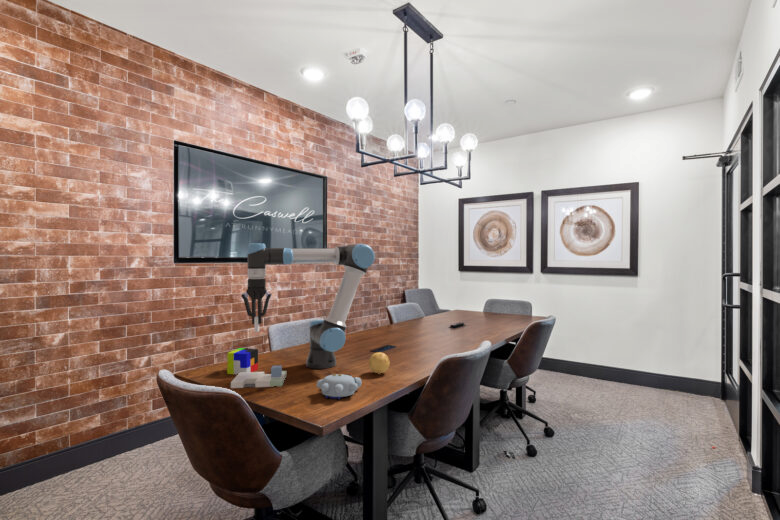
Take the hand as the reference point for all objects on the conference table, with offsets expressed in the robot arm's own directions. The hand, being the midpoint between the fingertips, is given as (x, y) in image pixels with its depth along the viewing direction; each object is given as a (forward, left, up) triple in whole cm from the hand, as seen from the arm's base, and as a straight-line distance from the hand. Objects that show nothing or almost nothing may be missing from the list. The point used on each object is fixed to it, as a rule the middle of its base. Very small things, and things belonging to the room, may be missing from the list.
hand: (256, 331), depth 172 cm
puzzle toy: (+10, -17, -23) cm, 30 cm away
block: (-8, 0, -20) cm, 22 cm away
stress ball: (-55, -6, -23) cm, 60 cm away
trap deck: (-1, 0, -22) cm, 22 cm away
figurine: (-37, +18, -23) cm, 47 cm away
